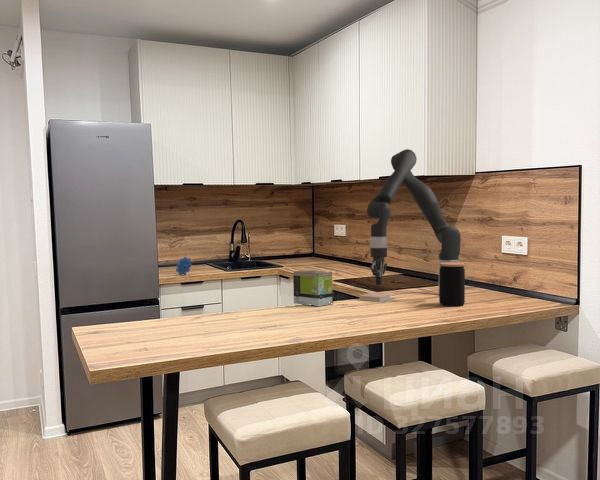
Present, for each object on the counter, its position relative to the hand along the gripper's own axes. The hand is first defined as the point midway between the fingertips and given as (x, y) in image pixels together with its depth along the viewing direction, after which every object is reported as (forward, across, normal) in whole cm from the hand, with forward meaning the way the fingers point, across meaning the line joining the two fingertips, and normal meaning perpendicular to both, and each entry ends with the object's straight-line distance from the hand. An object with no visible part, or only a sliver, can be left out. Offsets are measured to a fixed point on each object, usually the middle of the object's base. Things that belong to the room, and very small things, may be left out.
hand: (378, 284), depth 255 cm
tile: (+5, +1, 0) cm, 5 cm away
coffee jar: (+8, +8, -31) cm, 33 cm away
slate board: (+8, -3, 0) cm, 8 cm away
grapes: (+8, +35, +160) cm, 164 cm away
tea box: (+8, -21, +22) cm, 31 cm away
